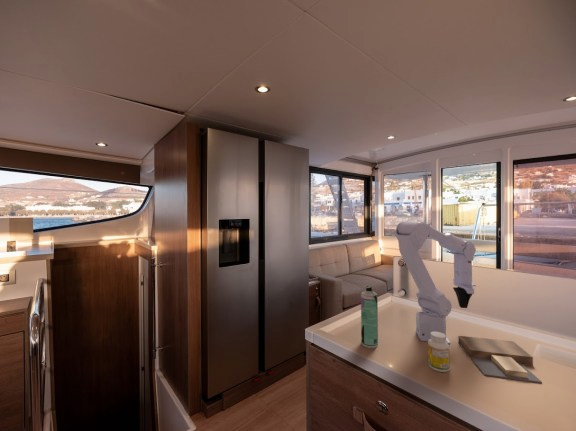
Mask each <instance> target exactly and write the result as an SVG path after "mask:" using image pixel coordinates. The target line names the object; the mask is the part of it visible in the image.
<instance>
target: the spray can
mask: <svg viewBox="0 0 576 431" xmlns="http://www.w3.org/2000/svg"><path fill="white" fill-rule="evenodd" d="M365 288H366V289H364V291H362V292H361V293H360V320H361V321H360V325H361V327H360V331H361V338H360V340H361V342H360V343H361V345H362V346H363V348H364V347H365V348H367V349H376V348H378V346H379V327H378V326H379V324H378V322H379V320H378V315H379V313H378V311H379V310H378V309H379V308H378V293H377V292H375V291H374V290H373V289H372V288H373V287H372V286H371V285H367V286H366V287H365Z"/></svg>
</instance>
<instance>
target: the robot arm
mask: <svg viewBox="0 0 576 431" xmlns="http://www.w3.org/2000/svg"><path fill="white" fill-rule="evenodd" d="M394 231H395V232H394V235H395V237H396V239H397V240H398V241H397V242H398V248H399V253H400V255H401V258H402V259H403V261H404V263H405V265H406V267H407V269H408V271H409V273H410V276H411V277H412V279H413V281H414V283H415V285H416V287H417V289H418V290H417V292H416V293H415V294H416V297H417V303H418V306H419V307H420V309H421V311H416V314H415V333H416V334H417V336H418V338H419V341H424V342H428V341H429V339H431V337H430V335H431V332H440V333H443V334H445V335H446V342H447V343H448V345H449V344H451V341H450V340H449V338H448V337H447V318H446V317H448V315H449V314H450V313H451V312H452V302H451V301H450V299H449V298H447V296H445V293H444V292H442V291H441V290H440V289H438V287H436V285H435V284H434V283H435V282H434V281H433V279H432V277H431V275H430V273H429V270H428V269H427V267H426V264H425V263H424V261H423V258H422V256H421V255H420V253H419V250H421V249H422V247H423V246H424V244H425V242H426V241H427V239H431V240H434V241H436V242H438V245H439V246H440V247H441V248H443V249H446V250H448V251H450V253H451V254H452V255H453V280H452V281H453V285H454V287H453V288H452V289H453V291H454V292H455V296H456V298H457V302H458V307H459V308H462V309H467V308H468V306H469V303H470V299H471V298H472V295H475V288H474V287H476V286H477V284H476V283H473V261H474V258H475V254H476V250H477V248H476V247H475V244H474V243H472V241H469V240H464V239H463V238H462V237H459V236H456V235H454V234H455V233H453V232H450V231H449V232H445V233H443V232H442V231H440V230H438V229H436V228H434V227H433V226H431V224H429V223H426V222H424V221H419V222H418V221H416V222H415V221H414V222H413V221H412V222H411V221H401V222H399V223H398V224H397V226H396V228H395V230H394Z"/></svg>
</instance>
